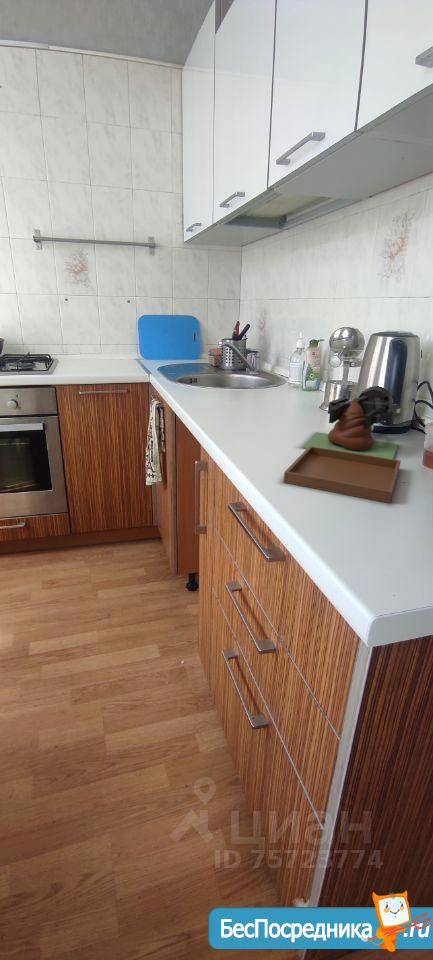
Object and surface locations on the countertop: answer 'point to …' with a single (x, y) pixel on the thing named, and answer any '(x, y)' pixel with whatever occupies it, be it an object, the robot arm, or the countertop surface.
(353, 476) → the tray
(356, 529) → the countertop surface
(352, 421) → the poop emoji
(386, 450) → the mat
